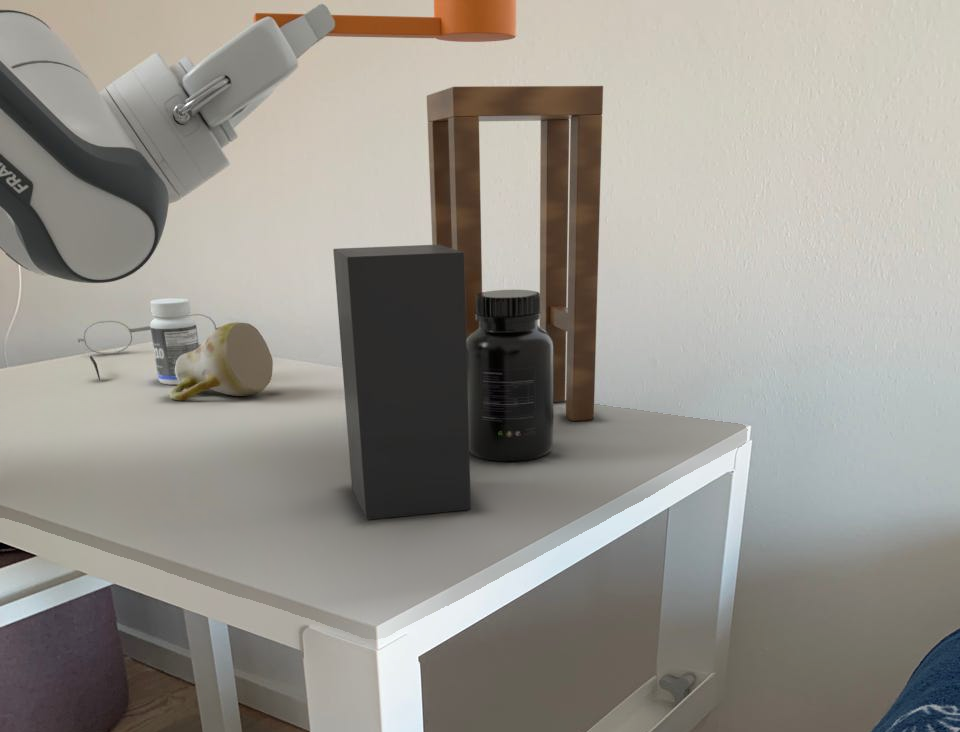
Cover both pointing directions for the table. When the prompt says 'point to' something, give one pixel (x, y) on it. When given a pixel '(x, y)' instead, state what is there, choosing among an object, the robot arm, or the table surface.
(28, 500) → the table surface
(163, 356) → the pill bottle
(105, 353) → the eyeglasses
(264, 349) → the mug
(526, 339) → the supplement bottle
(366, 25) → the measuring cup
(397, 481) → the charcoal tower block
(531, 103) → the tall stand
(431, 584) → the table surface
